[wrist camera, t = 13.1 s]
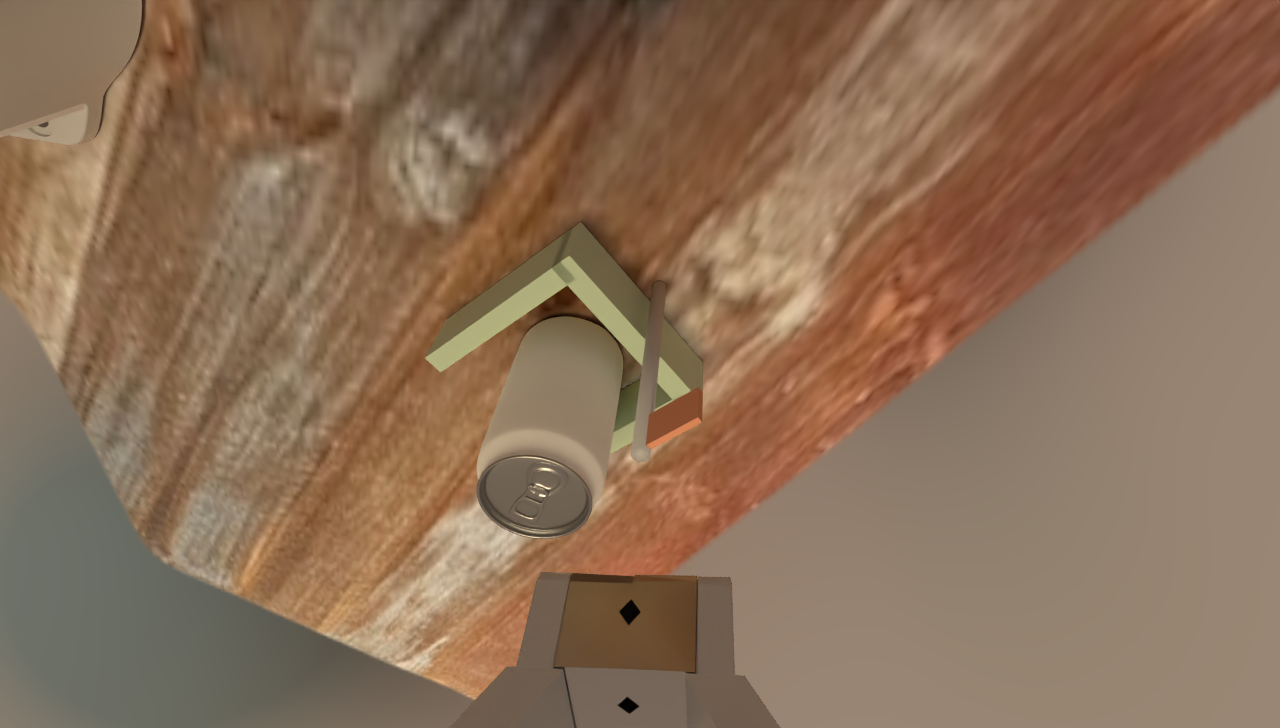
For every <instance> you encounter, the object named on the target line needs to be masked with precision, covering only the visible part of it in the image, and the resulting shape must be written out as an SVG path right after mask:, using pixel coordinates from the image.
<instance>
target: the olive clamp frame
mask: <svg viewBox="0 0 1280 728" xmlns="http://www.w3.org/2000/svg"><path fill="white" fill-rule="evenodd" d="M567 285H568V286H569V288H570V289H571V290H572V291H573V292H574V293H575V294H576V295H577V296H578V297H579V298H580V300H581V301H582V302H583V303H584V304H585V305H586V306H587V307H588V308H589V309H590V310H591V311H592V313H593V314H594V315H595V316H596V317H597V318H598V319H599V320H600V321H601V322H602V323H603V324H604V326H605V327H606V328H607V329H608V330H609V331H610V332H611V333H612V334H613V335H614V336H615V337H616V339H617V340H618V341H619V342H620V343H621V344H622V345H623V346H624V347H625V348H626V349H627V351H628V352H629V353H630V354H631V355H632V356H633V357H634V358H635V359H636V360H637V361H638V362H639V364H640V365H641V366H642V370H641V378H640V380H638V381H636V382H635V383H633V384H631V385H629V386H628V387H626V388H624V389H623V390H621V391H620V394H619V401H618V407H617V413H616V419H615V425H614V431H613V438H612V444H611V450H610V454H611V453H613V452H615V451H617V450H618V449H620V448H622V447H624V446H626V445H628V444H629V443H631V442H632V448H631V457H632V458H633V459H634V460H636V461H639V462H644V461H647V460H648V459H649V458H650V452H651V449H653V448H654V447H656V446H658V445H660V444H662V443H664V442H666V441H668V440H670V439H671V438H673V437H675V436H677V435H679V434H681V433H683V432H685V431H686V430H688V429H690V428H692V427H694V426H696V425H698V424H700V423H701V422H702V404H703V362H702V361H701V360H700V359H699V357H698V356H697V355H696V354H695V353H694V352H693V351H692V349H691V348H690V347H689V346H688V345H687V344H686V342H685V341H684V340H683V339H682V338H681V337H680V336H679V334H678V333H677V332H676V331H675V330H674V329H673V327H672V326H671V325H670V324H669V323H668V322H667V321H666V319H665V318H664V317H663V316H664V306H665V296H666V285H665V283H664V282H662V281H656V282H655V283H654V284H653V285H652V292H651V300H650V301H649V300H648V299H647V297H646V296H645V295H644V294H643V293H642V292H641V291H640V289H639V288H638V287H637V286H636V285H635V284H634V282H633V281H632V280H631V279H630V278H629V277H628V276H627V274H626V273H625V272H624V271H623V270H622V269H621V267H620V266H619V265H618V264H617V263H616V262H615V261H614V259H613V258H612V257H611V256H610V255H609V254H608V252H607V251H606V250H605V249H604V248H603V247H602V246H601V244H600V243H599V242H598V241H597V240H596V239H595V237H594V236H593V235H592V234H591V233H590V232H589V231H588V229H587V228H586V227H585V226H584V225H583V224H582V222H580V223H578V224H577V225H576V226H574V227H573V228H571V229H570V230H569V231H567V232H566V233H565V234H563V235H562V236H560V237H559V238H558V239H556V240H555V241H554V242H552V243H551V244H549V245H548V246H547V247H545V248H544V249H543V250H541V251H540V252H538V253H537V254H536V255H534V256H533V257H532V258H530V259H529V260H528V261H526V262H525V263H523V264H522V265H521V266H519V267H518V268H517V269H515V270H514V271H512V272H511V273H510V274H508V275H507V276H506V277H504V278H503V279H501V280H500V281H499V282H497V283H496V284H495V285H493V286H492V287H490V288H489V289H488V290H486V291H485V292H484V293H482V294H481V295H479V296H478V297H477V298H475V299H474V300H473V301H471V302H470V303H468V304H467V305H466V306H464V307H463V308H462V309H460V310H459V311H458V312H456V313H455V314H453V315H452V316H451V317H449V318H448V319H447V320H446V321H445V322H444V324H443V326H442V328H441V330H440V331H439V333H438V335H437V337H436V339H435V341H434V342H433V344H432V346H431V348H430V350H429V351H428V353H427V355H426V357H425V359H426V360H428V361H429V362H430V363H431V364H432V365H433V366H434V367H435V368H436V369H437V370H439V371H440V372H442V371H443V370H445V369H446V368H448V367H449V366H451V365H452V364H453V363H455V362H456V361H458V360H459V359H461V358H462V357H464V356H465V355H467V354H468V353H469V352H471V351H472V350H474V349H475V348H477V347H478V346H480V345H481V344H482V343H484V342H485V341H487V340H488V339H490V338H491V337H493V336H494V335H496V334H497V333H498V332H500V331H501V330H503V329H504V328H506V327H507V326H509V325H510V324H512V323H513V322H514V321H516V320H517V319H519V318H520V317H522V316H523V315H525V314H526V313H528V312H529V311H530V310H532V309H533V308H535V307H536V306H538V305H539V304H541V303H542V302H543V301H545V300H546V299H548V298H549V297H551V296H552V295H554V294H555V293H557V292H558V291H559V290H561V289H562V288H564V287H565V286H567Z"/></svg>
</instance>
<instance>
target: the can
mask: <svg viewBox="0 0 1280 728" xmlns="http://www.w3.org/2000/svg"><path fill="white" fill-rule="evenodd" d="M622 374H623V357H622V353H621V350H620V348H619V346H618V344H617V342H616V341H615V340H614V338H613V337H612V336H611V335H610V334H609V333H608V332H607V331H606V330H605V329H604V328H602V327H601V326H599V325H597V324H595V323H593V322H590V321H587V320H584V319H580V318H576V317H567V316H563V317H554V318H550V319H547V320H544V321H542V322H540V323H538V324H536V325H535V326H534V327H532V328H531V329H530V330H529V331H528V332H527V333H526V335H525V336H524V338H523V340H522V342H521V344H520V346H519V349H518V351H517V354H516V356H515V359H514V362H513V364H512V367H511V369H510V372H509V375H508V377H507V380H506V383H505V385H504V388H503V390H502V393H501V396H500V398H499V401H498V404H497V406H496V409H495V412H494V414H493V417H492V420H491V422H490V425H489V428H488V431H487V433H486V436H485V439H484V441H483V444H482V447H481V450H480V453H479V457H478V461H477V475H478V484H477V498H478V501H479V504H480V506H481V508H482V509H483V511H484V512H485V513H486V515H487V516H488V517H489V518H490V519H491V520H492V521H493V522H495V523H496V524H497V525H499V526H500V527H502V528H504V529H505V530H507V531H510V532H512V533H514V534H517V535H520V536H524V537H529V538H536V539H551V538H558V537H562V536H565V535H568V534H570V533H573V532H574V531H576V530H578V529H579V528H580V527H581V526H583V525H584V523H585V522H586V521H587V520H588V518H589V516H590V514H591V510H592V508H593V506H594V505H595V504H596V503H597V501H598V500H599V498H600V496H601V494H602V491H603V488H604V483H605V479H606V473H607V467H608V462H609V456H610V450H611V444H612V438H613V431H614V425H615V419H616V413H617V407H618V401H619V394H620V388H621V381H622Z"/></svg>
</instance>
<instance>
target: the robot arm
mask: <svg viewBox="0 0 1280 728" xmlns="http://www.w3.org/2000/svg"><path fill="white" fill-rule="evenodd" d="M141 17H142V0H0V138H1V137H4V136H13V137H20V138H26V139H32V140H38V141H44V142H50V143H56V144H62V145H77V144H80V143H83V142H87V141H90V140H92V139H93V138H94V137H95V136H96V134H97V132H98V129H99V125H100V120H101V113H102V104H103V96H104V94H105V92H106V90H107V89H108V87H109V86H110V84H111V83H112V82H113V81H114V80H115V78H116V77H117V76H118V75H119V74H120V73H121V71H122V70H123V69H124V67H125V66H126V65H127V63H128V61H129V60H130V58H131V56H132V54H133V51H134V49H135V46H136V43H137V40H138V36H139V32H140V26H141ZM449 728H780V727H779V725H778V724H777V722H776V721H775V719H774V718H773V716H772V715H771V713H770V712H769V711H768V709H767V708H766V706H765V705H764V704H763V702H762V701H761V699H760V697H759V696H758V695H757V693H756V692H755V690H754V689H753V687H752V686H751V684H750V683H749V682H748V680H747V679H746V677H745V676H739V675H735V665H734V634H733V603H732V582H731V579H730V577H698V580H697V576H676V575H635V576H618V575H599V574H580V573H555V572H541V573H540V575H539V577H538V579H537V581H536V585H535V589H534V593H533V598H532V602H531V606H530V610H529V615H528V619H527V623H526V627H525V632H524V636H523V640H522V644H521V649H520V653H519V657H518V661H517V666H516V667H506V668H505V669H504V670H503V671H502V672H501V673H500V674H499V675H498V677H497V678H496V679H495V680H494V681H493V682H492V683H491V684H490V685H489V686H488V687H487V688H486V689H485V690H484V691H483V692H482V693H481V694H480V695H479V697H478V698H477V699H476V700H475V701H474V702H473V703H472V704H471V705H470V706H469V707H468V708H467V709H466V710H465V711H464V712H463V713H462V714H461V716H459V718H458V719H457V720H456V721H455V722H454V723H453V724H452V725H451V726H450V727H449Z"/></svg>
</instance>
